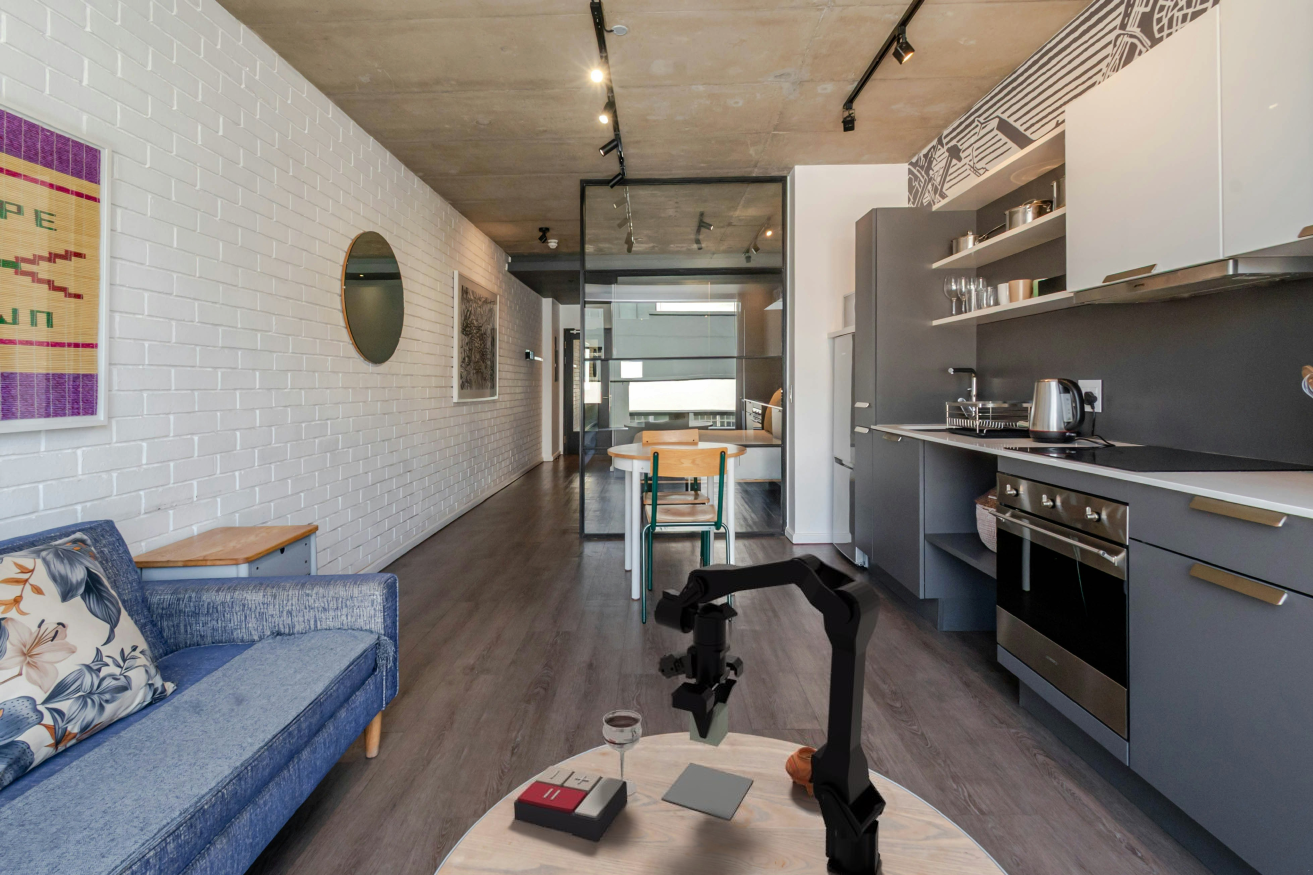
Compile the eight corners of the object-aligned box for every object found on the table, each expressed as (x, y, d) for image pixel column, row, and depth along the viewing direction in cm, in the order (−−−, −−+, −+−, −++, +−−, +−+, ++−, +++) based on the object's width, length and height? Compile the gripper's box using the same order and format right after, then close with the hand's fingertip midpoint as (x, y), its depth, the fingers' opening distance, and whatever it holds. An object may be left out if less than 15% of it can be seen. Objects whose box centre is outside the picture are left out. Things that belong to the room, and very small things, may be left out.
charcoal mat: (753, 780, 107) (753, 779, 107) (729, 820, 96) (729, 819, 96) (690, 763, 113) (690, 762, 113) (661, 799, 102) (661, 797, 102)
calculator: (549, 761, 107) (627, 776, 102) (550, 786, 107) (628, 802, 102) (512, 797, 97) (597, 815, 91) (513, 824, 97) (598, 844, 91)
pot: (841, 799, 101) (831, 760, 101) (794, 807, 102) (785, 769, 102) (831, 770, 109) (823, 734, 109) (788, 778, 110) (779, 742, 110)
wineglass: (641, 800, 102) (641, 728, 101) (600, 799, 102) (600, 728, 101) (642, 776, 108) (642, 709, 108) (604, 776, 108) (604, 709, 108)
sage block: (727, 733, 105) (728, 704, 105) (717, 746, 101) (717, 716, 101) (701, 726, 108) (701, 698, 108) (689, 739, 103) (689, 710, 103)
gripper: (688, 617, 116) (688, 698, 116) (641, 649, 99) (641, 744, 100) (744, 626, 111) (744, 711, 111) (705, 662, 94) (705, 762, 95)
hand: (709, 730), depth 104 cm, fingers closed on sage block, 5 cm apart
